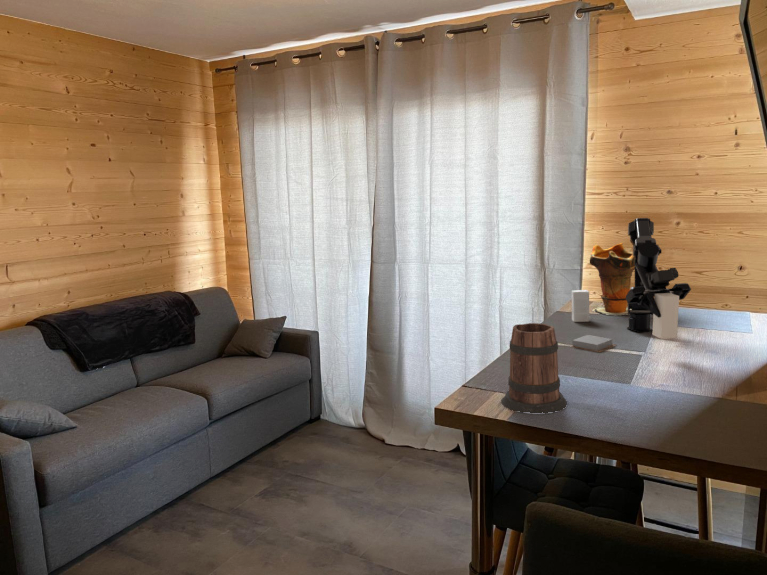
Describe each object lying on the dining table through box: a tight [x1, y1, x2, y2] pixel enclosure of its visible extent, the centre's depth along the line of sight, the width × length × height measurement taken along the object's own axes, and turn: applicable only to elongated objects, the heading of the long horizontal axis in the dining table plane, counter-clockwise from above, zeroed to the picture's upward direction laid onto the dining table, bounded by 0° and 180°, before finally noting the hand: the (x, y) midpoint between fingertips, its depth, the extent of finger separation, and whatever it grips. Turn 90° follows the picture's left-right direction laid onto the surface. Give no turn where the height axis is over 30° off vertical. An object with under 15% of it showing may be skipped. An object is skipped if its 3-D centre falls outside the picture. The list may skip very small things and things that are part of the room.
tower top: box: [571, 334, 613, 352], centre depth 200 cm, size 9×9×2 cm
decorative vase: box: [589, 242, 635, 316], centre depth 250 cm, size 21×23×28 cm
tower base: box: [569, 343, 617, 353], centre depth 200 cm, size 11×11×2 cm
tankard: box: [500, 322, 568, 413], centre depth 158 cm, size 24×17×20 cm
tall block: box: [652, 293, 680, 340], centre depth 186 cm, size 5×5×13 cm
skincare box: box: [571, 289, 590, 323], centre depth 238 cm, size 6×4×12 cm
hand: (668, 316), depth 185 cm, fingers closed on tall block, 5 cm apart
